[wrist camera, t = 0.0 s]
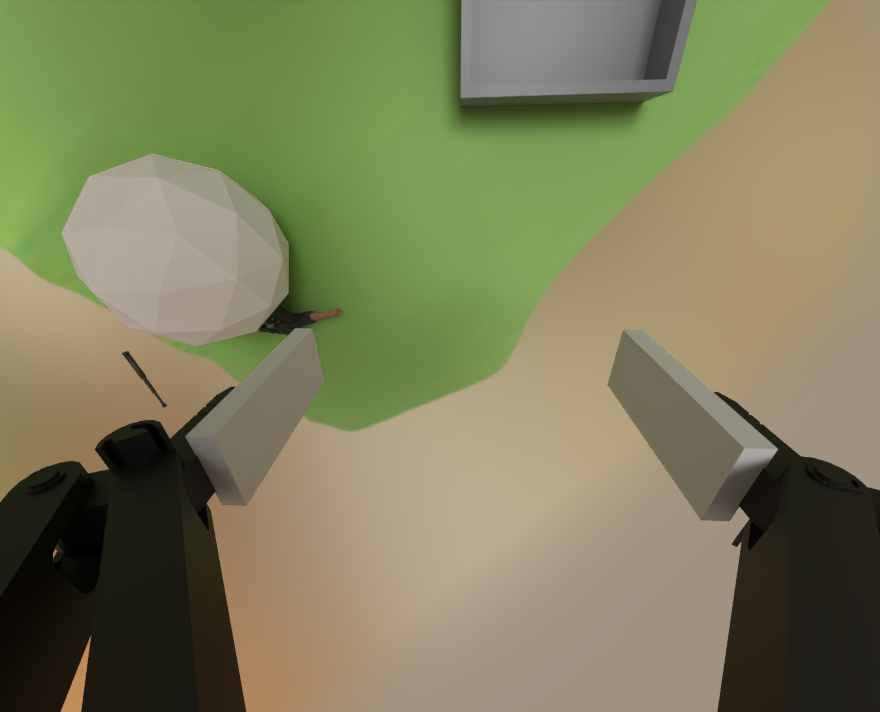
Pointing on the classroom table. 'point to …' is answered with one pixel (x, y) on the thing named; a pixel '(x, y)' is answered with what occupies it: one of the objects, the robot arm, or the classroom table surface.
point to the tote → (570, 50)
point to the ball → (181, 253)
